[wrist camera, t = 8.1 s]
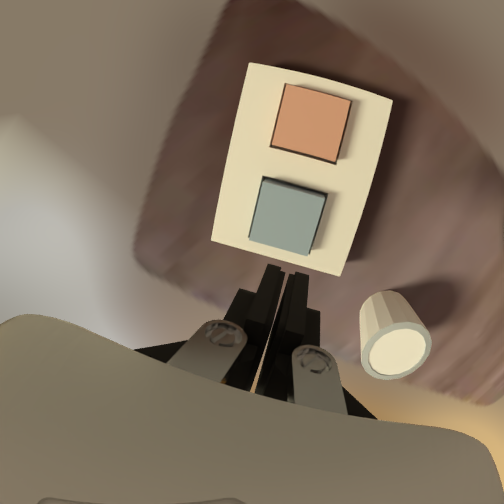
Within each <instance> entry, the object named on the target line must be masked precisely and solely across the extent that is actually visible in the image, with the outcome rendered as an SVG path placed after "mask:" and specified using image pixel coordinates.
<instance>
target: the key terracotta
mask: <svg viewBox="0 0 504 504" xmlns="http://www.w3.org/2000/svg"><path fill="white" fill-rule="evenodd" d="M349 105H350V101H348V100H345V99H342V98H338V97H335V96H331V95H328V94H324V93H321V92H317V91H313V90H309V89H305V88H301V87H297V86H292V85H288V84H286V88H285V92H284V96H283V100H282V104H281V108H280V113H279V117H278V121H277V125H276V129H275V133H274V137H273V142H272V145H275V146H279V147H283V148H287V149H291V150H295V151H299V152H302V153H306V154H310V155H313V156H317V157H320V158H324V159H327V160H331V161H334V162H335V160H336V157H337V153H338V149H339V145H340V141H341V138H342V134H343V130H344V126H345V122H346V118H347V114H348V109H349Z"/></svg>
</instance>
